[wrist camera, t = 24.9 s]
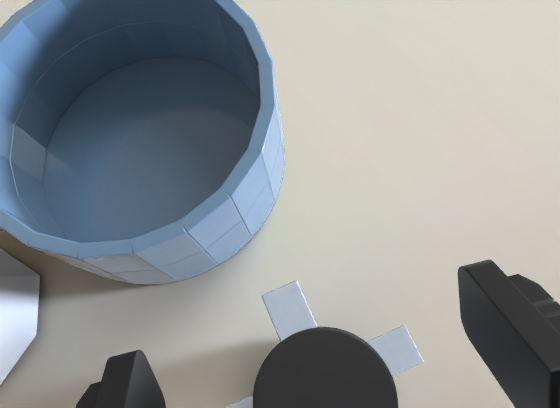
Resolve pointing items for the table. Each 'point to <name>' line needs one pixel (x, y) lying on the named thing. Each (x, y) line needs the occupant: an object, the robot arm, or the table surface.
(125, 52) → the processor bowl
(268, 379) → the chopping blade
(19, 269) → the flask
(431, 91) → the table surface
